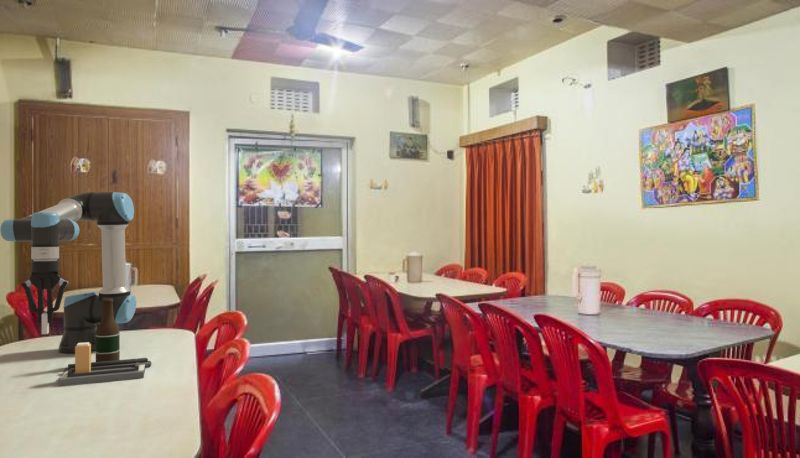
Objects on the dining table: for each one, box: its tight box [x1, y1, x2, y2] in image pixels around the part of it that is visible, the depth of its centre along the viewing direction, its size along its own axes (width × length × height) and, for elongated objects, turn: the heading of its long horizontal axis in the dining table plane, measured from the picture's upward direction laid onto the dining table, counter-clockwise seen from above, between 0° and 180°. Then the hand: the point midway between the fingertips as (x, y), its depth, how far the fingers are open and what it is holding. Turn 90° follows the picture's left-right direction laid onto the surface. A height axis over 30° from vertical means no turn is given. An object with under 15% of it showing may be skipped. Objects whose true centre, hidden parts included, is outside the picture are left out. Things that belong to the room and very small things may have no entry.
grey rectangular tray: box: [58, 362, 146, 387], centre depth 182 cm, size 12×24×3 cm, turn 113°
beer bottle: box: [95, 298, 121, 362], centre depth 200 cm, size 8×8×24 cm
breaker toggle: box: [74, 342, 92, 373], centre depth 179 cm, size 4×4×10 cm
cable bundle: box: [63, 357, 152, 374], centre depth 191 cm, size 27×4×3 cm, turn 113°
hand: (45, 333), depth 175 cm, fingers closed
